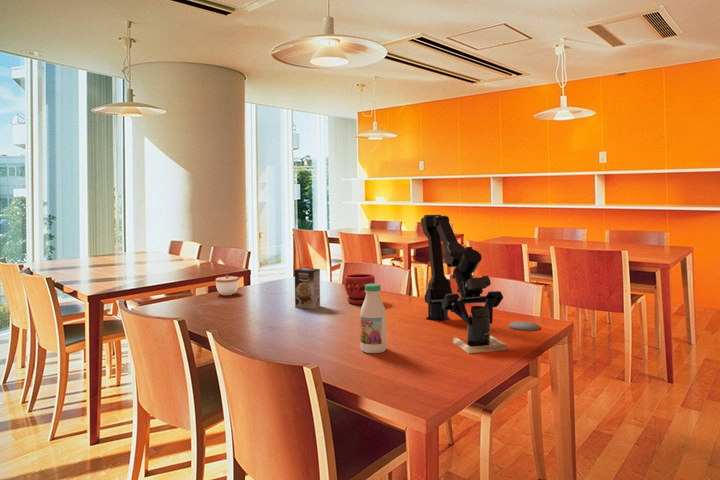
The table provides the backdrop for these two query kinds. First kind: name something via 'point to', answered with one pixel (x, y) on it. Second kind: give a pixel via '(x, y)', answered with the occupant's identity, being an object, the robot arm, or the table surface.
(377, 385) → the table surface
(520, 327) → the coaster
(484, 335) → the supplement bottle
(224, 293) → the lidded jar
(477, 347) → the pocket
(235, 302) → the table surface
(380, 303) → the milk bottle
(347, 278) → the plant pot
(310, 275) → the coffee box
